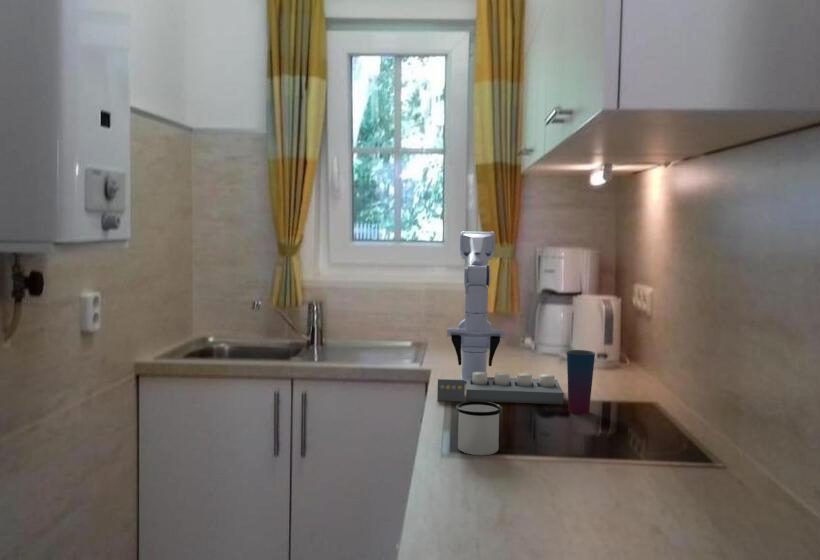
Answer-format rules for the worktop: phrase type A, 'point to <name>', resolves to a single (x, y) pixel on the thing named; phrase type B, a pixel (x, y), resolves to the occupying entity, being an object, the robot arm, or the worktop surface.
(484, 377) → the button
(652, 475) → the worktop surface
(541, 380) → the button
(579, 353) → the cup
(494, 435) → the mug
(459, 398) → the card
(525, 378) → the button
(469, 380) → the board
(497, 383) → the button
